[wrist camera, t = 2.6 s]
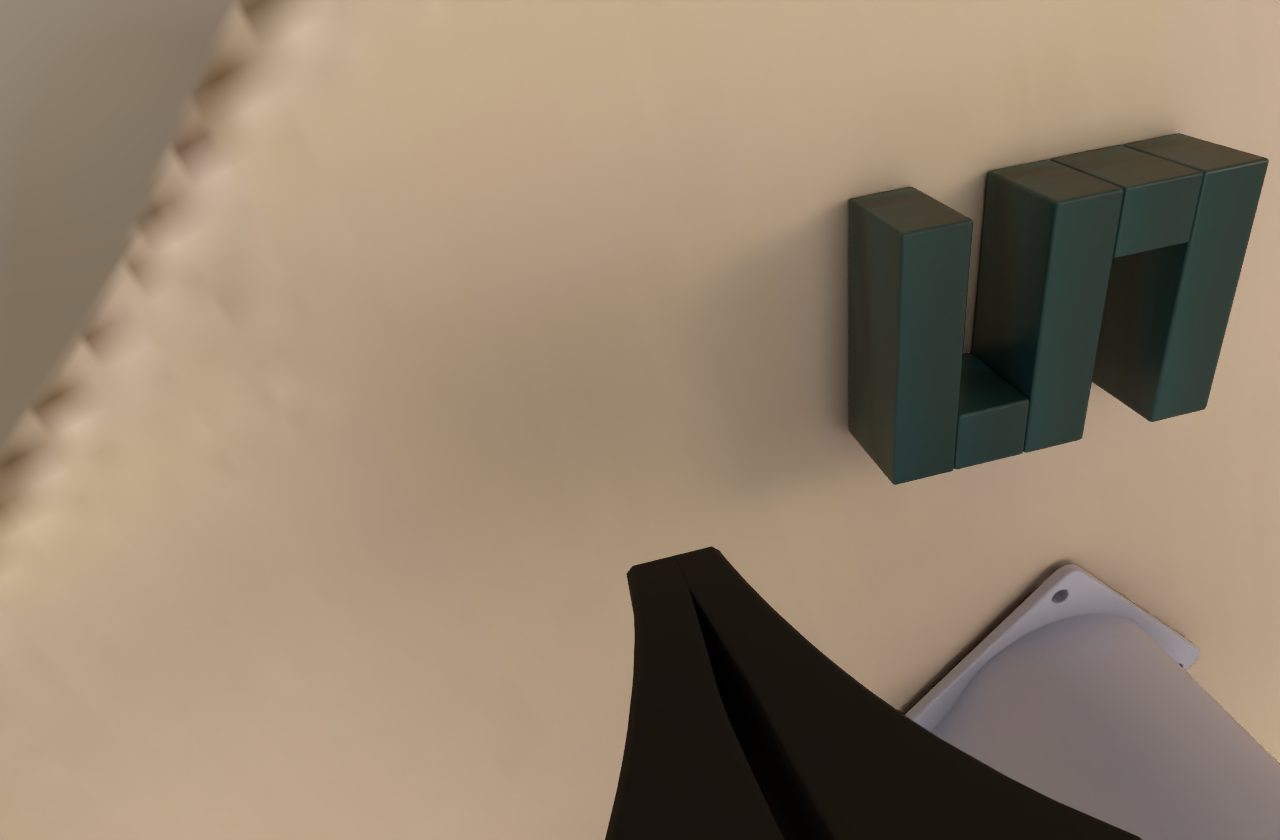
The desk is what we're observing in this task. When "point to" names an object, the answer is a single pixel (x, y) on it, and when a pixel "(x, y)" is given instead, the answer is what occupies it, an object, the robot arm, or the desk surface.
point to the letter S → (1044, 301)
